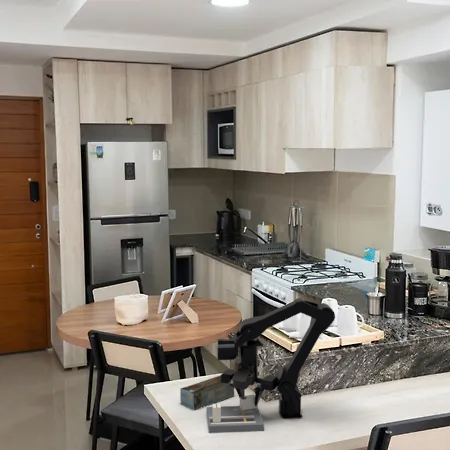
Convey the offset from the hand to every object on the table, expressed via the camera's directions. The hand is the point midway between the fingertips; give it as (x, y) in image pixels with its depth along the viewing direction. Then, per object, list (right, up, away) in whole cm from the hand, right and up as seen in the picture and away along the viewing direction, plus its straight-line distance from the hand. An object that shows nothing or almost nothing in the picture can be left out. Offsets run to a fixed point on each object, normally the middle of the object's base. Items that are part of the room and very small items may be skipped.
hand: (249, 404), depth 205 cm
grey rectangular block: (-1, -1, 0) cm, 1 cm away
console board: (-5, -4, -5) cm, 8 cm away
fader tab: (-11, -2, -10) cm, 15 cm away
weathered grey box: (-14, -3, +13) cm, 19 cm away
